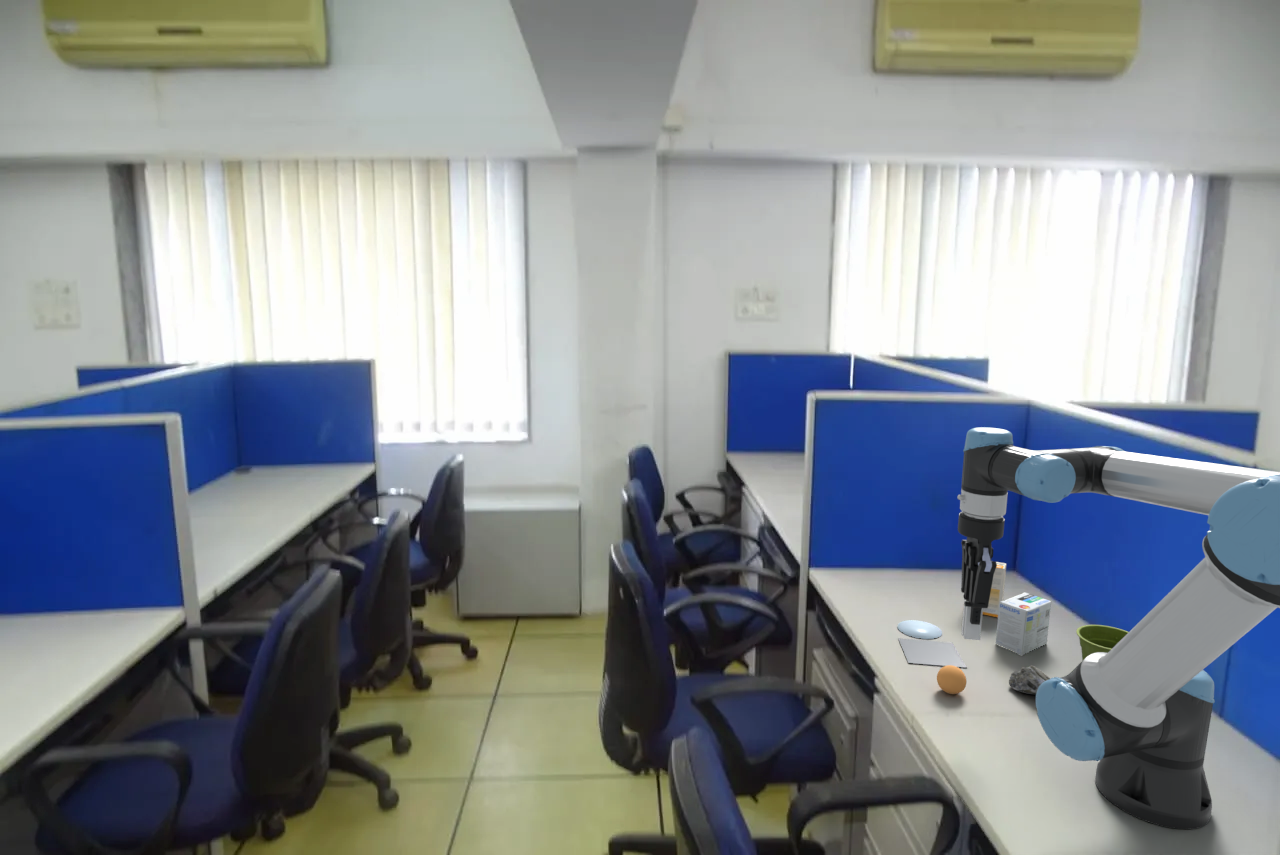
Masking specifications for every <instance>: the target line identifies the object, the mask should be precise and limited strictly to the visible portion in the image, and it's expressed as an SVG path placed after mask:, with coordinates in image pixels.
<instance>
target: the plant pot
mask: <svg viewBox="0 0 1280 855" xmlns="http://www.w3.org/2000/svg"><path fill="white" fill-rule="evenodd" d="M1075 632H1076V633H1075V634H1076V635H1077V636H1078V637H1079V638H1078V639H1079V646H1080V648H1081V649H1080V650H1081V659H1082V661H1083V660H1084V659H1085V658H1086V657H1087V656H1089V655H1090V654H1093V653H1097V652H1104V653H1108V652H1109V651H1110V650H1111V649H1112V648H1113V647H1114V646H1115V645H1116V644H1117V643H1118V642H1119V641H1120V640H1121V639H1123V638H1124V637H1125V636H1126V635H1127V634H1128V633H1129V632H1130V631H1127V630H1124V629H1122V628H1117V627H1114V626H1109V625H1102V624H1087V625H1082V626H1079V627H1078V628H1077V629H1076V630H1075ZM1082 661H1081V662H1082Z"/></svg>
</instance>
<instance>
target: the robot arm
mask: <svg viewBox="0 0 1280 855" xmlns="http://www.w3.org/2000/svg"><path fill="white" fill-rule="evenodd" d="M964 441H965V442H964V448H963V450H962V451H963V462H962V474H961V476H962V477H961V490H960V494H958V495H957V500H958V501H959V510H960V512H959V513H958V520H957V522H958V523H957V532H958V533H959V534H960V535H961V536H964V537H966V539H961V542H960V543H961V556H962V557H961V559H962V560H961V586H960V587H961V588H960V591H961V593H962V594H963V597H962V598H963V603H964V604H963V611H962V612H963V613H962V621H961V622H962V624H961V636H962V637H963V639H964V640H973V641H980V640H981V633H982V624H983V622H982V621H983V608H988V604H989V598H990V592H991V587H992V581H993V575H994V572H995V569H996V566H997V564H996V562H997V561H994V560H992V559H993V557H994V547H992V543H993V541H995V540H996V541H997V540H1001V539H1003V537H1004V534H1005V533H1004V531H1005V520H1006V519H1005V518H1004V516H1005V515H1007V514H1006V513H1007V506H1008V505H1007V504H1008V493H1009V492H1013V493H1015V494H1018V495H1020V496H1021V495H1022V496H1024V497H1027V498H1028V499H1031V500H1033V501H1038V502H1039V501H1040V502H1041V501H1042V502H1045V503H1049V504H1050V503H1051V504H1052V503H1058V502H1059V503H1060V502H1061V501H1062V500H1063V499H1064V498H1067V497H1069V495H1071V494H1081V493H1082V494H1083V493H1093V494H1099V495H1104V496H1110V497H1115V498H1120V499H1126V500H1131V501H1135V502H1141V503H1145V504H1151V505H1156V506H1161V507H1165V508H1171V509H1175V510H1181V511H1185V512H1190V513H1195V514H1199V515H1200V514H1201V515H1205V516H1207V517H1208V518H1207V521H1206V523H1207V524H1208V525H1209V530H1208V531H1206V535H1205V536H1204V537H1203V539H1202V543H1201V545H1202V546H1201V548H1202V552H1203V554H1204V557H1203V558H1202V559H1201V560H1200V562H1198V564H1196V565H1195V567H1194V568H1192V570H1191V571H1190V572H1188V574H1187V575H1185V576H1184V577H1183V579H1181V580H1180V582H1178V583H1177V585H1175V586H1174V587H1173V588H1172V589H1171V590H1170V591H1169V592H1168V593H1167V594H1166V595H1165V596H1164V597H1163V598H1162V599H1161V600H1160V601H1159V602H1158V603H1157V604H1156V605H1155V606H1154V607H1152V608H1151V609H1150V611H1148V612H1147V614H1146V615H1145V616H1144V617H1142V619H1140V620H1139V622H1137V624H1136V625H1134V626H1133V627H1132V629H1131V630H1130V631H1128V632H1129V633H1128V634H1127V635H1126V636H1125V637H1124V638H1123V639H1121V640H1120V641H1119V642H1118V643H1117V644H1116V645H1115V646H1114V647H1113V648H1112V649H1111V650H1110V651H1109V652H1108V653H1104V652H1097V653H1093V654H1090V655H1089V656H1087V657H1086V658H1085V659H1084V660H1083V661H1080V662H1079V663H1078V664H1077V665H1076V667H1075V668H1074V669H1072V671H1070V672H1069V673H1068V674H1067V675H1064V676H1061V677H1057V676H1054V677H1051V679H1049V680H1046V681H1044V682H1043V683H1042V684H1041V685H1040V686H1039V688H1038V690H1037V693H1036V695H1035V707H1036V710H1037V717H1038V721H1039V722H1040V725H1041V727H1042V729H1043V732H1044V733H1045V735H1046V737H1047V738H1048V739H1049V740H1050V742H1051V743H1052V744H1053V746H1054V747H1055V748H1056V749H1057V750H1058V751H1059V752H1061V754H1063V755H1064V756H1067V757H1069V758H1071V759H1072V760H1075V761H1079V762H1091V761H1093V762H1094V761H1095V762H1097V765H1096V767H1095V776H1094V779H1095V780H1094V781H1095V785H1096V787H1097V788H1098V791H1100V793H1101V794H1102V796H1104V797H1105V798H1106V799H1107V800H1108V801H1109V802H1111V803H1112V804H1113V805H1115V806H1116V807H1118V809H1120V810H1122V811H1124V812H1125V813H1127V814H1130V815H1132V816H1133V817H1136V818H1138V819H1141V820H1142V821H1145V822H1148V823H1150V824H1154V825H1158V826H1161V827H1166V828H1169V829H1170V828H1171V829H1178V830H1193V829H1199V828H1202V827H1204V826H1206V825H1207V824H1208V823H1209V822H1210V819H1211V816H1212V810H1213V800H1212V797H1211V793H1210V792H1211V791H1210V789H1209V784H1208V780H1207V776H1206V772H1205V769H1204V762H1205V756H1206V749H1207V744H1208V739H1209V738H1208V736H1209V731H1210V726H1211V724H1210V723H1211V718H1212V712H1213V706H1214V704H1215V702H1216V700H1215V699H1214V698H1215V682H1214V680H1213V678H1212V677H1211V675H1210V674H1209V673H1208V672H1206V671H1205V670H1204V669H1205V668H1207V667H1208V666H1209V665H1210V664H1212V663H1213V662H1214V661H1215V660H1217V659H1218V658H1219V657H1220V656H1222V655H1223V654H1224V653H1225V652H1226V651H1227V650H1229V649H1230V648H1231V647H1232V646H1233V645H1234V644H1236V643H1237V642H1238V641H1239V640H1240V639H1241V638H1242V637H1244V636H1245V635H1246V634H1247V633H1249V632H1250V631H1251V630H1252V629H1253V628H1255V627H1256V626H1257V625H1258V624H1259V623H1261V622H1262V621H1263V620H1264V619H1265V618H1266V617H1268V616H1269V615H1270V614H1271V613H1273V612H1274V611H1275V610H1276V609H1280V471H1275V470H1268V469H1262V468H1261V469H1260V468H1254V467H1252V468H1251V467H1243V466H1236V465H1229V464H1222V463H1215V462H1214V463H1213V462H1207V461H1198V460H1191V459H1184V458H1175V457H1170V456H1160V455H1153V454H1147V453H1146V454H1145V453H1138V452H1131V451H1125V450H1123V449H1122V448H1120V447H1117V446H1106V445H1095V446H1092V447H1091V446H1090V447H1081V448H1080V447H1079V448H1077V447H1076V448H1061V449H1060V448H1058V449H1056V448H1055V449H1041V450H1033V449H1028V448H1023V447H1019V446H1015V445H1014V440H1013V433H1012V432H1011V431H1009V430H1007V429H1003V428H996V427H985V426H984V427H982V426H981V427H973V428H971V429H969V430H967V432H966V437H965V440H964ZM1008 491H1009V492H1008Z"/></svg>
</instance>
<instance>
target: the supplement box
mask: <svg viewBox="0 0 1280 855" xmlns="http://www.w3.org/2000/svg"><path fill="white" fill-rule="evenodd" d="M995 562H996V564H997V566H996V569H995V572H994V575H993V581H992V587H991V592H990V598H989V604H988V608H983V614H982V616H983V615H984V616H990V617H994V618H998V611H999V602H1000V601H1004V600H1005V599H1004V598H1005V597H1004V596H1005V587H1006V586H1005V585H1006V584H1005V583H1006V573H1007V563H1005V562H999V561H995Z"/></svg>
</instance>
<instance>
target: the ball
mask: <svg viewBox="0 0 1280 855" xmlns="http://www.w3.org/2000/svg"><path fill="white" fill-rule="evenodd" d="M936 682H937V685H938V687H939V688H940V689H941V690H942V691H943V692H945V693H946V694H950V695H958V694H961V693H962V692H963V691H964V690H965V688H966V686H967V677H966V675H965V673H964V671H963V670H962V668H958V667H956V666H952V665H947V666H941V668H940V669H939V670H938V671H937V674H936Z"/></svg>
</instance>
